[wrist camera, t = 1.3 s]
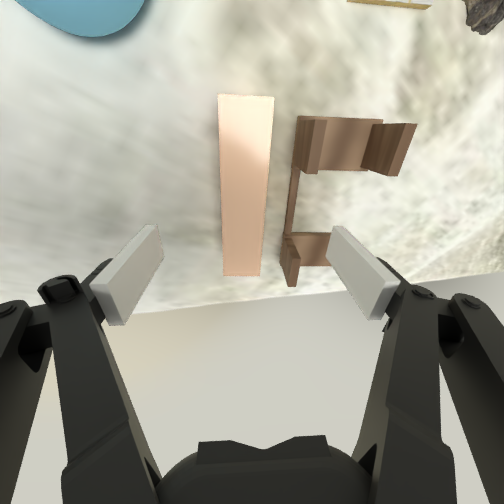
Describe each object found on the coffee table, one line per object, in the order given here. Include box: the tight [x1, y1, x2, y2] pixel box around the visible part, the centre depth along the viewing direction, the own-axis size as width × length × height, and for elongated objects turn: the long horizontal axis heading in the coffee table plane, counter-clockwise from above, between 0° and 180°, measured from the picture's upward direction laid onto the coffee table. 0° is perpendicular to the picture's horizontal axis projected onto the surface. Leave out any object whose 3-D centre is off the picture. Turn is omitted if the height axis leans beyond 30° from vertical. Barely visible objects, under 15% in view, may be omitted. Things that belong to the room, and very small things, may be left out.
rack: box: [280, 116, 417, 287], centre depth 29 cm, size 10×22×7 cm, turn 178°
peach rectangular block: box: [218, 94, 275, 276], centre depth 27 cm, size 5×20×8 cm, turn 177°
